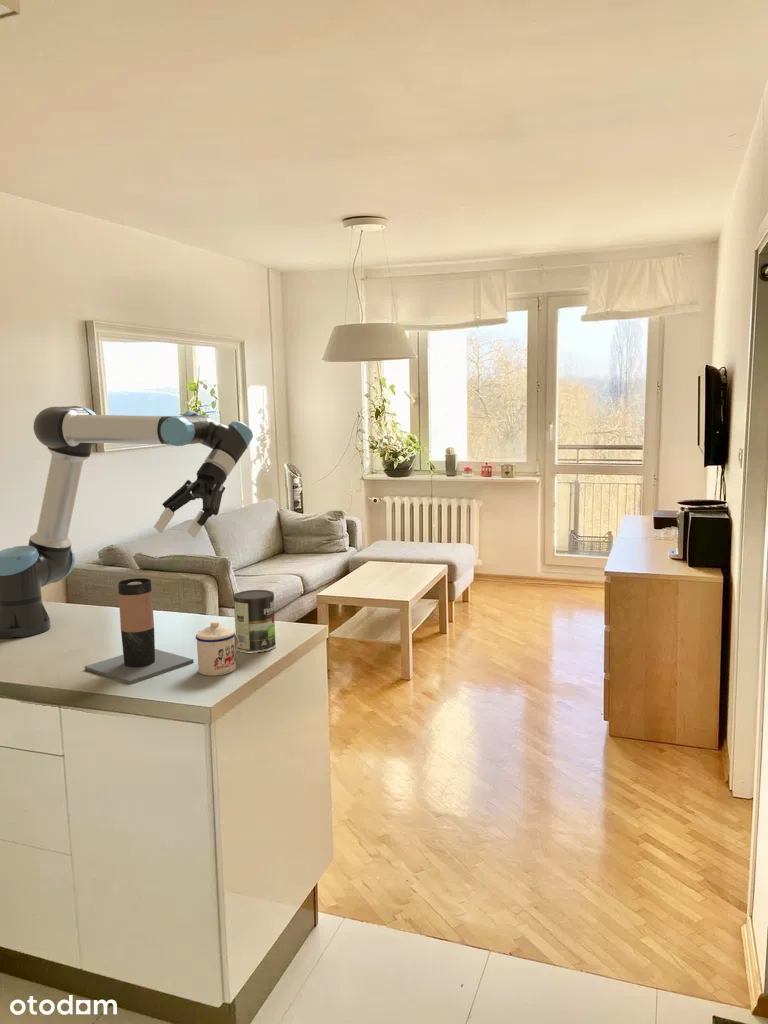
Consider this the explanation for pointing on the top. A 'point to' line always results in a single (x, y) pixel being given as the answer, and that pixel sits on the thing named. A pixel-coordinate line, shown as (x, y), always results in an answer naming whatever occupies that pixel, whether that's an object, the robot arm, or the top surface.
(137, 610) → the travel mug
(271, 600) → the coffee can
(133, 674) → the pad
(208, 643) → the teacup with lid
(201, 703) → the top surface
